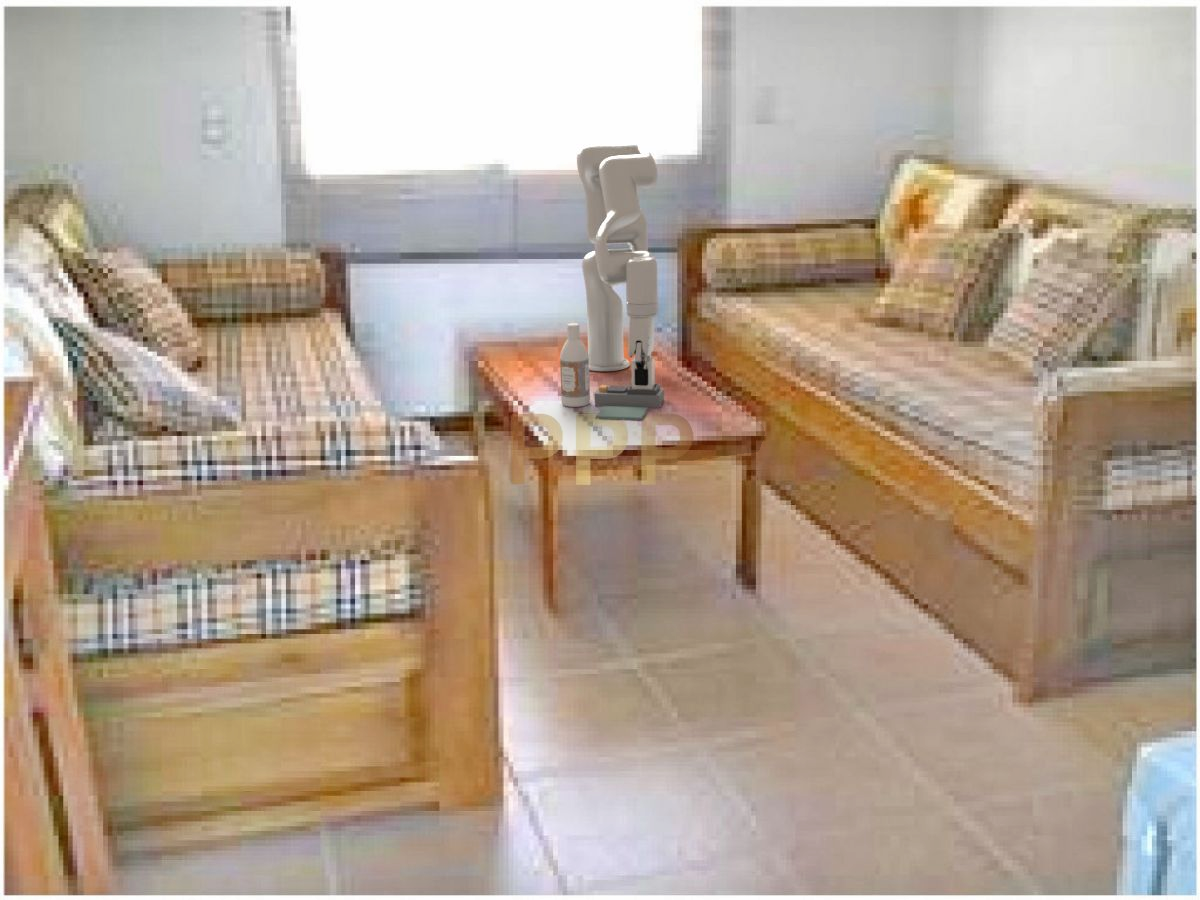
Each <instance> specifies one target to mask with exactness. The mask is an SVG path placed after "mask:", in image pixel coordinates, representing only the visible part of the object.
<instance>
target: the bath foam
mask: <svg viewBox="0 0 1200 900" xmlns="http://www.w3.org/2000/svg"><path fill="white" fill-rule="evenodd" d="M566 326H567V327H566V328H567V339H566V341H565V342H564V344H563V346H562V348H561V351H560V355H559V356H560V357H559V362H560V364H559V366H560V369H559V370H560V390H561V391H560V392H561V404H562V405H563V406H565V407H568V408H569V407H570V408H579V407H580V408H581V407H585V406H587V405H589V404H590V402H591V396H590V394H591V392H590V370H589V357H588V348H587V347H586V345H585V344H584V342H583V341H582V340H581V337H580V335H581V334H580V323H576V322H569V323H567V325H566Z"/></svg>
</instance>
